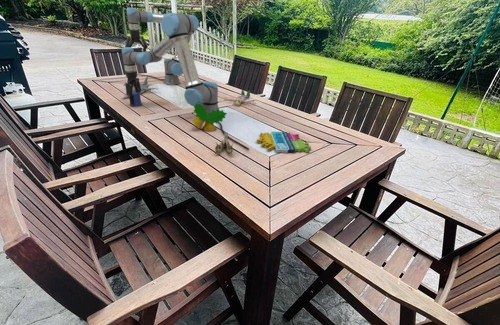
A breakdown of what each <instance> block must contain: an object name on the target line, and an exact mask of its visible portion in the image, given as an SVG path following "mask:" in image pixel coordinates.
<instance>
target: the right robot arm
mask: <svg viewBox="0 0 500 325" xmlns="http://www.w3.org/2000/svg"><path fill="white" fill-rule="evenodd" d="M164 14H165V15H164V16H163V18H162V20H161V23H160V28H161V31H162V32H163V34H165V35H166V36H164V38H162V39H161V40H160V41H159V42H158V43H157V44H156V45H155V46H154V47H152V49H151V50H148V51H147V50H146V52H143V51H135V50H134V48H133V47H125V46H123V47H121V57H122V61H123V67H124V73H125V74H124V75H125V78H127V80H126V81H124V85H126V86H125V92H126V93H125V94H126V95H127V96H129V97H128V99H129V104H131V105H134V99H133V96H132V91H133V86H134V88H135V90H136V92H139V93H141V92H140V91H141V87H140V83H141V82H140V78H139V77H138V75H137V74H138V72H137V65H141V66H147V65H148V64H151V63H158V62H161V61H162V59H163V57H164V56H165V55H166V54H167V53H168V52H170V51H171V50H172V49H173V48H174V49H175V53H177V56H178V59H179V62H180V65H181V68H182V71H183V73H182V75H183V77H184V80H185V86H184V88H185V91H184V94H183V95H184V100H185V102H186V103H187V104H188V105H190V106H191V107H194V106H196V102H197V103H198V104H201V106H204V109H206V112H208V113H211V112H212V110H214V111H216V110H217V109H219V111H221V110H220V108H219V102H218V99H219V98H218V97H219V87H218V83H217V82H214V81H208V80H201V79H200V76H199V74H198V69H197V67H196V64H195V63H196V62H195V59H194V57H193V55H192V51H191V47H190V43H189V44H188V40H187V39H188V37H189V35H190V34H191V33H192V32H193V29H194V23H193V20H192V18H191V17H190V16H188V15H189V14H187V13H179V12H168V13H164ZM139 89H140V90H139ZM141 94H142V93H141ZM131 105H130V106H131ZM208 113H207V115H208ZM217 124H219V126H220V130H221V133H222V134H223V135H224V133H225V131H224V129H223V125H222V123H221V121H219V122H218V123H217ZM228 139H229V140H230V141H232V142H233V143H235V144H238V145H239V146H241V147H243V148H245V149H246V150H250V148H249V147H247V146H246V145H244V144H242V143H240V142H239V141H237V140H235V139H233V138H232V137H231V136H229V135H228Z"/></svg>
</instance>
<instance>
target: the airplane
mask: <svg viewBox="0 0 500 325" xmlns="http://www.w3.org/2000/svg"><path fill="white" fill-rule="evenodd" d="M148 78H149V75H148V76H145V79H144V80H143V83H142V82H139V83H140V87H141V91H140V92H141V93H140V95H141V94H142V93H145V92H146V91H147V93H149V92H151V91H152V90H158V88H155V87H151V86H153V84H149V81H148ZM122 86H124V87H126V84H123V85H122ZM139 90H140V89H139ZM132 92H136V90H135V88H134V86H133V91H132ZM121 99H123V100H124V99H129V96H127V95H126V93H125V94H124V95H123V97H122V98H121Z"/></svg>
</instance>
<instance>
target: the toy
mask: <svg viewBox="0 0 500 325" xmlns="http://www.w3.org/2000/svg"><path fill="white" fill-rule="evenodd" d="M240 92H241V93H240V95H238V96H237V97H235V99H233V98H230V99H228V98H227V97H226V96H225V97H224V98H223V101H224V102H233V103H232V104H233V105H235V106H242V103H243V104H247V105H252V106H255V105H256V104H257V103H256V102H254V101H253V100H252V101H251V102H250V101H248V100H246V99H248V98H250V97H251V90H250V89H249V90H248V91H247V92H246V93H245V91H244V89H242V90H241V91H240Z"/></svg>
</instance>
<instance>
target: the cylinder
mask: <svg viewBox="0 0 500 325" xmlns="http://www.w3.org/2000/svg"><path fill="white" fill-rule="evenodd" d="M132 96H133V99H134V105H131V104H130V103H129V104H130V107H133V108H134V107H140V106H142V98H141V94H140V93H139V92H132Z"/></svg>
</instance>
